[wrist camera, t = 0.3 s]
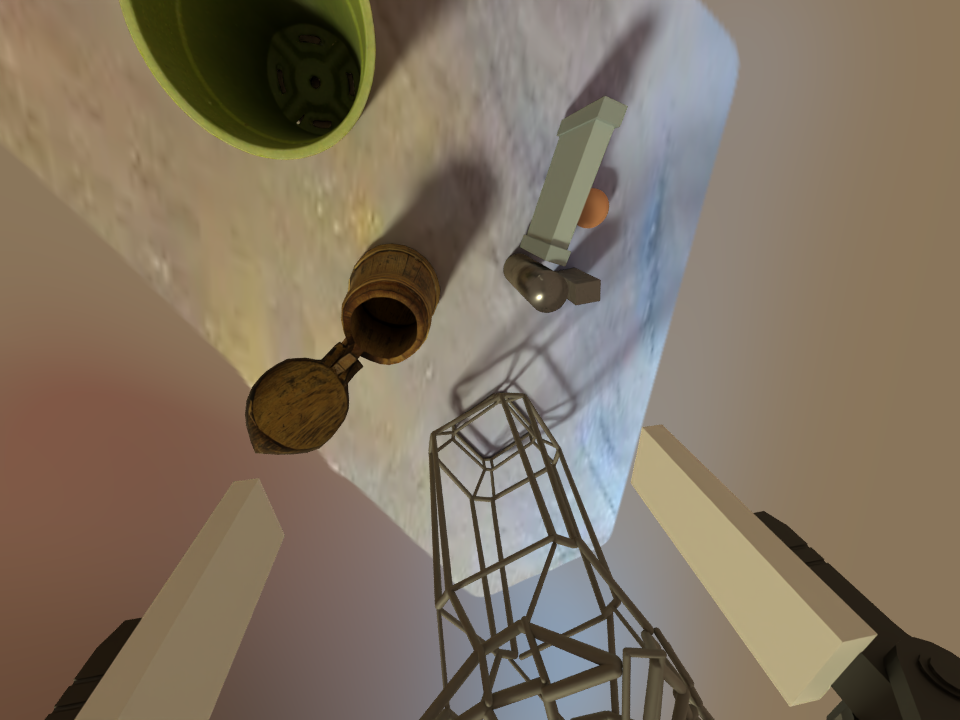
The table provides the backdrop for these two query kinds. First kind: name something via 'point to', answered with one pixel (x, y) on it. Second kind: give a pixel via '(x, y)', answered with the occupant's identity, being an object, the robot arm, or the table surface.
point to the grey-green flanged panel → (571, 178)
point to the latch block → (581, 286)
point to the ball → (594, 209)
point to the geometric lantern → (608, 662)
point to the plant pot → (260, 67)
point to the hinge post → (536, 282)
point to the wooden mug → (345, 352)
